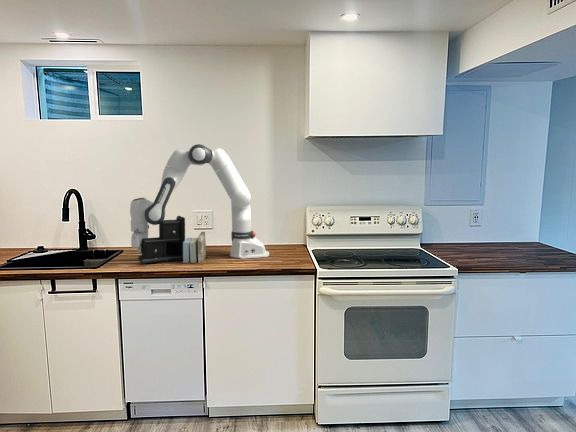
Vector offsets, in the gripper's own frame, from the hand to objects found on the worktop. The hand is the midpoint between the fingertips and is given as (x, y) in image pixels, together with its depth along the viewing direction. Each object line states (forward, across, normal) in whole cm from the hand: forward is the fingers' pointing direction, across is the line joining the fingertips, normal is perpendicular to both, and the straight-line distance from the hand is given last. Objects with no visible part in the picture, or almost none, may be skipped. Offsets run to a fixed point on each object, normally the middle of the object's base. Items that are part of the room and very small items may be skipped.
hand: (140, 252), depth 223 cm
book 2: (+4, 0, -30) cm, 30 cm away
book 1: (+4, 0, -26) cm, 26 cm away
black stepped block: (+4, -1, -12) cm, 12 cm away
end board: (+4, 0, -34) cm, 34 cm away
